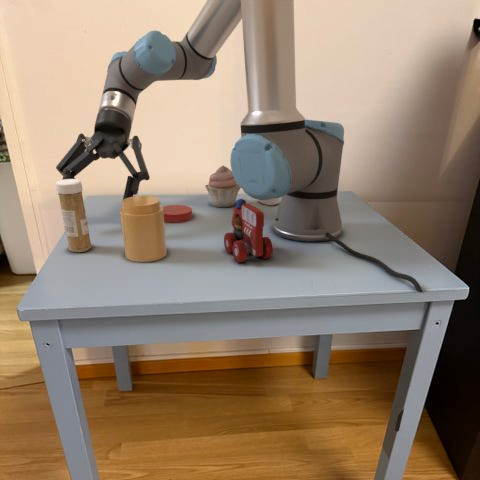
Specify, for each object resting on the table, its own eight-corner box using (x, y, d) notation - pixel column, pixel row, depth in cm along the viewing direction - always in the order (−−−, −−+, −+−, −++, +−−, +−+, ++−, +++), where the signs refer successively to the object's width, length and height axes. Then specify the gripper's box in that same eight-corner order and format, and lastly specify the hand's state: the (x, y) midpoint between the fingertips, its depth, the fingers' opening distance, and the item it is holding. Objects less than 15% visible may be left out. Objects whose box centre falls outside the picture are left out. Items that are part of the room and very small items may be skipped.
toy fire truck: (251, 242, 96) (252, 192, 90) (276, 263, 86) (279, 209, 80) (219, 246, 93) (219, 195, 88) (242, 268, 83) (243, 213, 78)
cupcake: (213, 211, 114) (212, 170, 109) (200, 201, 122) (199, 163, 117) (246, 207, 118) (247, 167, 113) (232, 198, 125) (232, 160, 120)
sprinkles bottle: (96, 249, 91) (85, 181, 84) (74, 255, 88) (61, 185, 82) (85, 243, 94) (74, 176, 87) (64, 248, 91) (51, 180, 84)
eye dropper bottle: (272, 199, 124) (274, 153, 118) (279, 205, 119) (281, 158, 113) (257, 200, 123) (258, 154, 117) (263, 206, 118) (264, 158, 112)
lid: (164, 211, 114) (164, 203, 113) (196, 213, 113) (196, 205, 112) (153, 221, 107) (152, 213, 106) (186, 223, 106) (186, 215, 105)
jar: (175, 253, 90) (171, 200, 84) (143, 265, 84) (137, 209, 79) (148, 243, 94) (143, 192, 89) (117, 254, 89) (109, 201, 83)
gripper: (54, 105, 98) (30, 192, 93) (164, 109, 95) (146, 199, 90) (70, 128, 106) (49, 210, 100) (173, 132, 102) (157, 217, 97)
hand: (95, 205), depth 95 cm, fingers open, 13 cm apart
